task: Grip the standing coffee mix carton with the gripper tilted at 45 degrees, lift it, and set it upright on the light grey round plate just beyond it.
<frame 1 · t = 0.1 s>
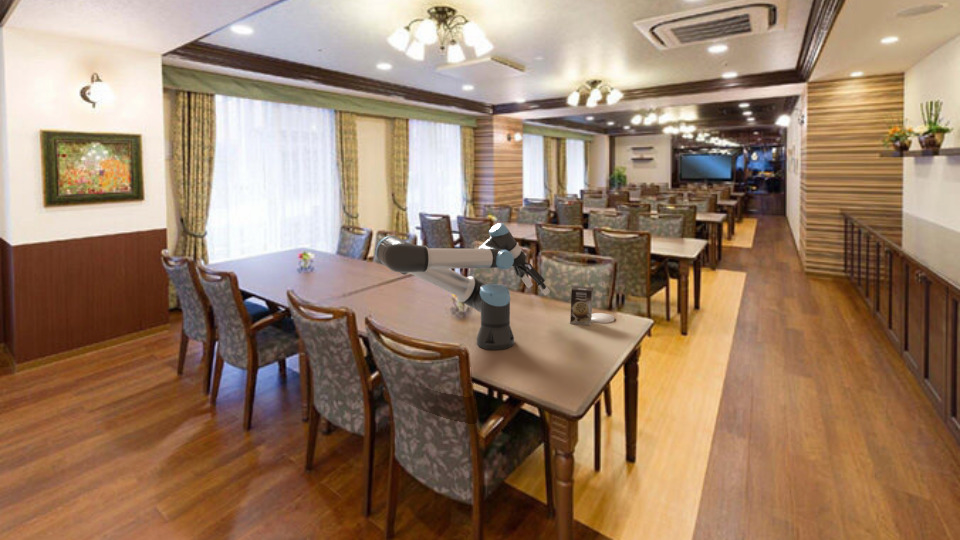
hand: (538, 289, 218), 15 cm above the table, tool tilted 35°, fingers open, 13 cm apart
plate: (601, 318, 226), on the table
coffee box: (580, 323, 221), on the table
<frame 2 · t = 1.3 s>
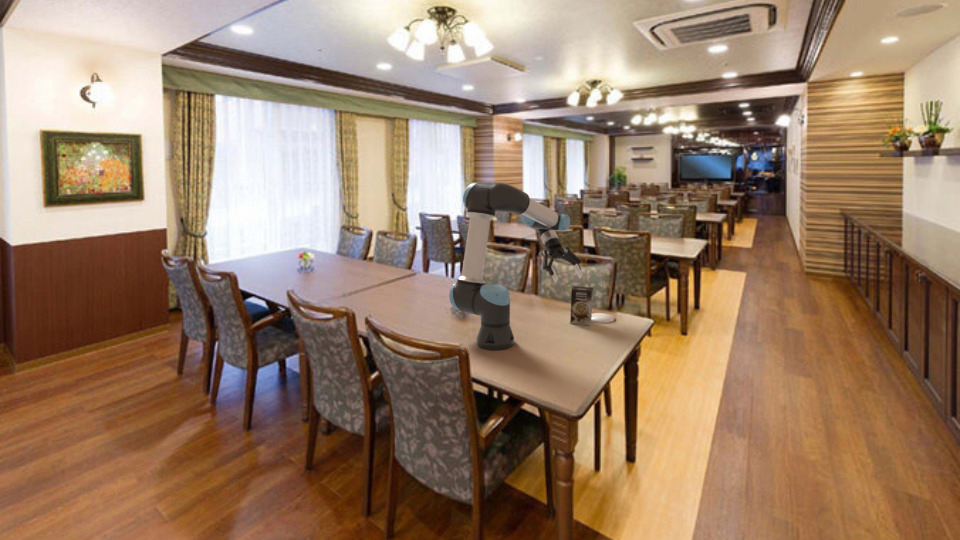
hand: (569, 278, 226), 18 cm above the table, tool tilted 45°, fingers open, 13 cm apart
nothing on the table moved.
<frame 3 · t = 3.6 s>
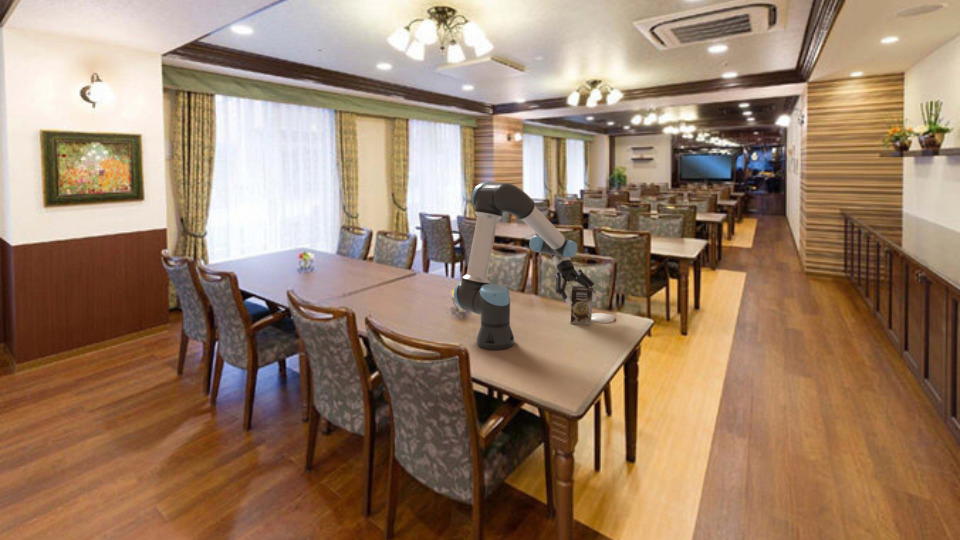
hand: (582, 302, 220), 9 cm above the table, tool tilted 45°, fingers open, 13 cm apart
nothing on the table moved.
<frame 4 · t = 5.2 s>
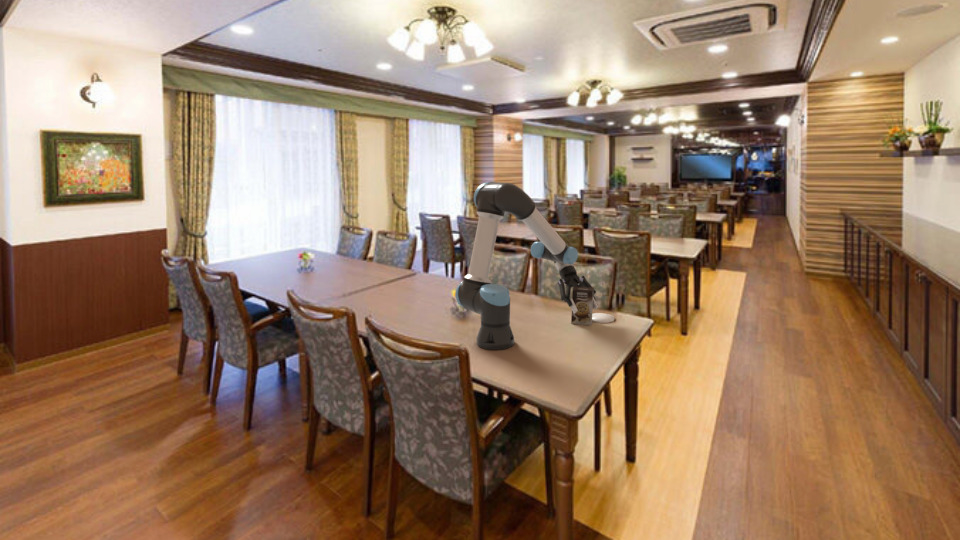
hand: (586, 310, 217), 7 cm above the table, tool tilted 45°, fingers closed on coffee box, 10 cm apart
coffee box: (581, 323, 221), on the table, touching gripper, plate
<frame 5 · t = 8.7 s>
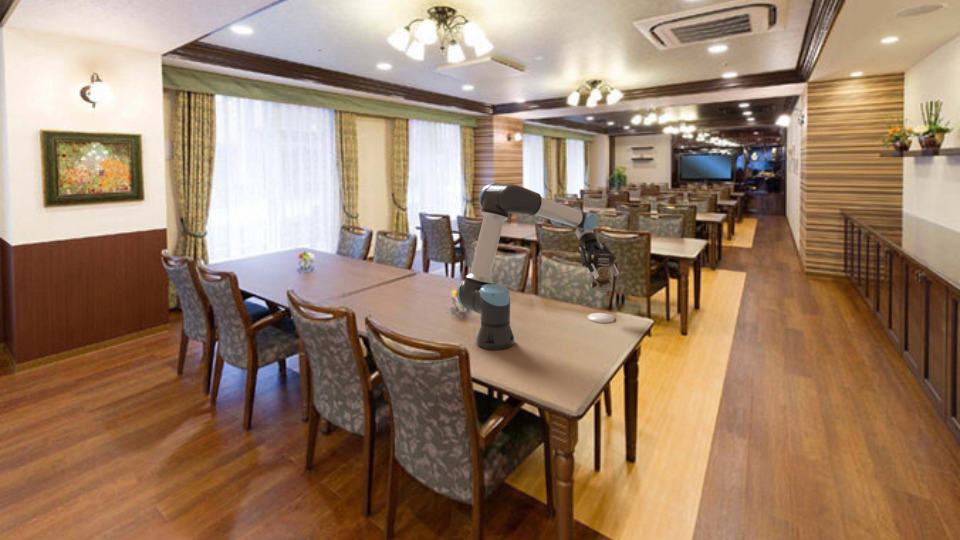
hand: (607, 275, 218), 21 cm above the table, tool tilted 45°, fingers closed on coffee box, 10 cm apart
coffee box: (602, 289, 222), point 14 cm above the table, touching gripper
when the fingers open (9 cm above the table, at t = 11.8 s): coffee box drops 2 cm, resting on plate.
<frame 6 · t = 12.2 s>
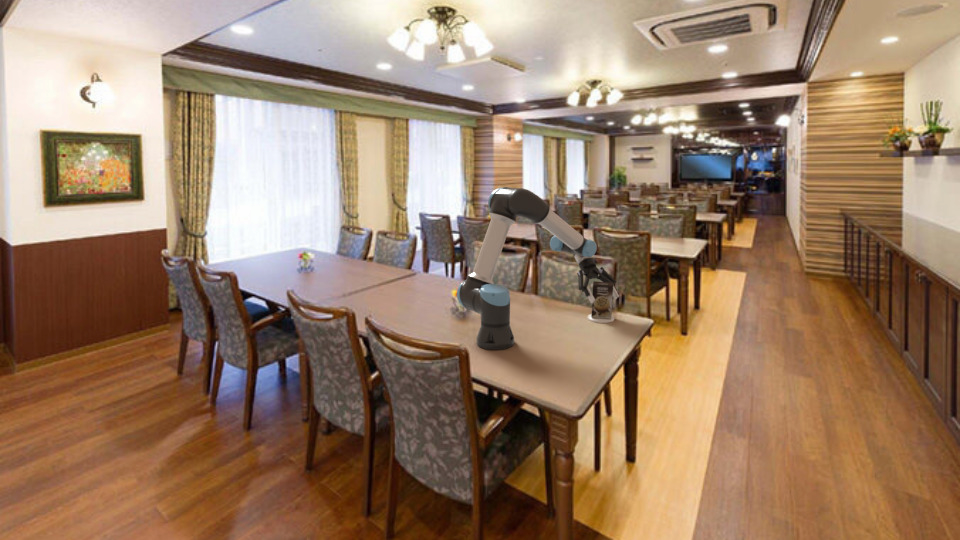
hand: (605, 299, 221), 10 cm above the table, tool tilted 45°, fingers open, 13 cm apart
coffee box: (601, 317, 225), point 1 cm above the table, touching plate
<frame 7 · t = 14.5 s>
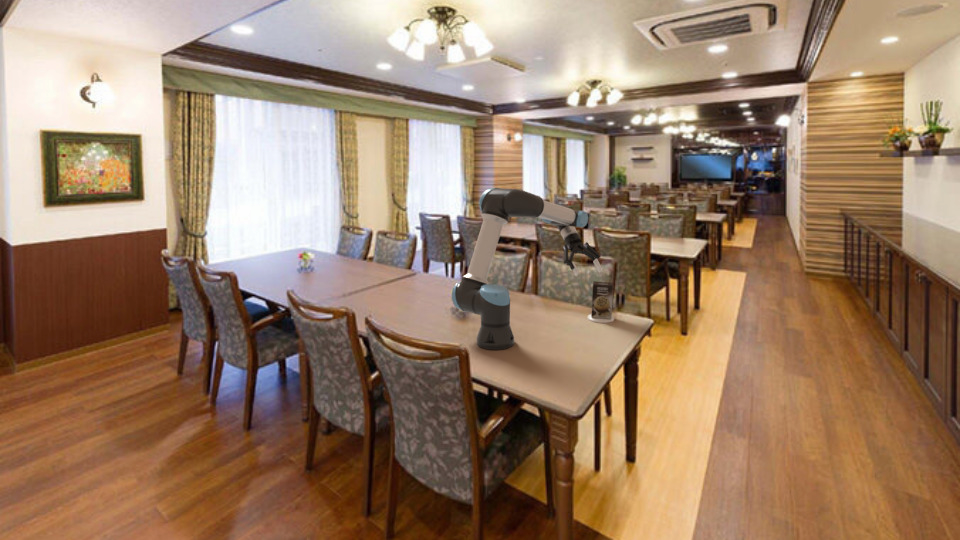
hand: (589, 273, 230), 20 cm above the table, tool tilted 45°, fingers open, 13 cm apart
nothing on the table moved.
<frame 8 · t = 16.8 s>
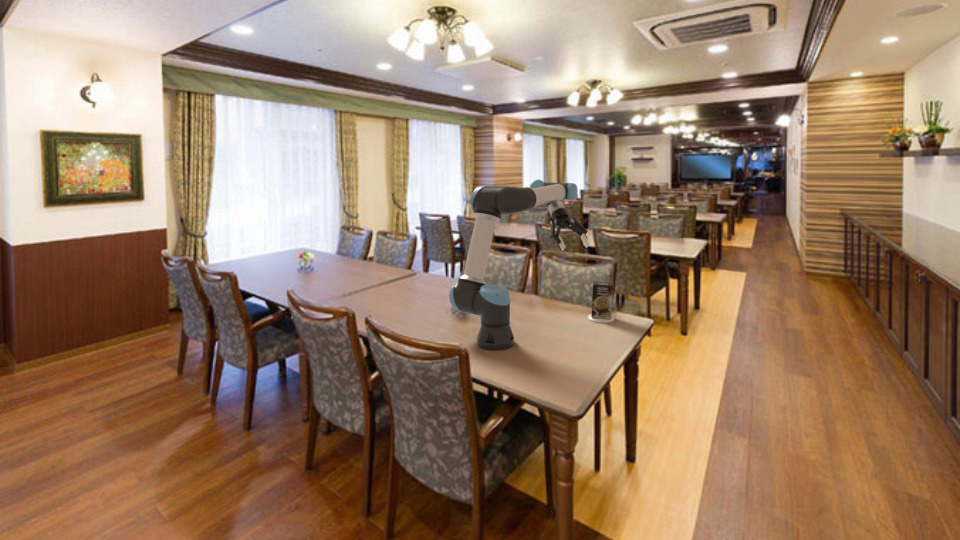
hand: (576, 247, 228), 32 cm above the table, tool tilted 45°, fingers open, 13 cm apart
nothing on the table moved.
at the end: coffee box inside the target area on the plate (0.2 cm from its centre), point 0.6 cm above the plate's base; coffee box tilted 0°; the gripper is holding nothing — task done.
